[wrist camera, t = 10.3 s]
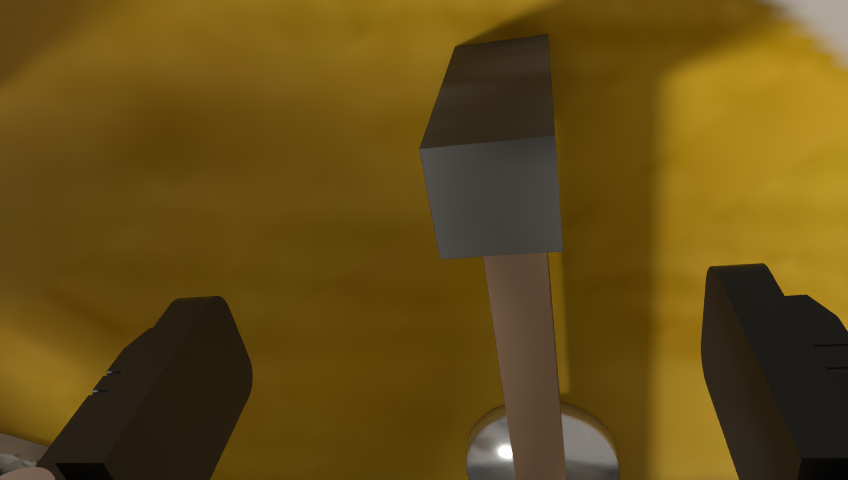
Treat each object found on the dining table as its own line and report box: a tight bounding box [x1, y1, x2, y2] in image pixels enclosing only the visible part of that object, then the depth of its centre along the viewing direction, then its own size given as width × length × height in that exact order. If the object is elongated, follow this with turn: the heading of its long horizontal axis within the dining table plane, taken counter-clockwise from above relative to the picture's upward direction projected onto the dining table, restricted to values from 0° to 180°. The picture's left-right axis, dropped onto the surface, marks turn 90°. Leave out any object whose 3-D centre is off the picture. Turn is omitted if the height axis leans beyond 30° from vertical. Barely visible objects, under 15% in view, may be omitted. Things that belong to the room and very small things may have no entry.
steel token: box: [466, 402, 619, 480], centre depth 31 cm, size 7×7×2 cm
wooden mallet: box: [419, 35, 567, 480], centre depth 24 cm, size 11×25×8 cm, turn 10°
